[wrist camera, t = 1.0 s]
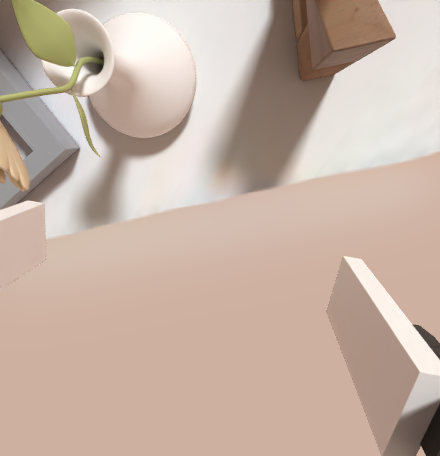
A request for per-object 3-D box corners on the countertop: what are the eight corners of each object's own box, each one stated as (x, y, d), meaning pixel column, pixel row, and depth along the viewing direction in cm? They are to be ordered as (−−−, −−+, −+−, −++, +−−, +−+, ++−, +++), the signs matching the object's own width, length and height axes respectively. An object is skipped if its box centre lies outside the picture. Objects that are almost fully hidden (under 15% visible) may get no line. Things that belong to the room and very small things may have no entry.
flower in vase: (82, 24, 33) (-373, -236, 9) (193, 10, 31) (4, -338, 8) (106, 156, 36) (-166, 217, 13) (205, 149, 35) (106, 203, 12)
